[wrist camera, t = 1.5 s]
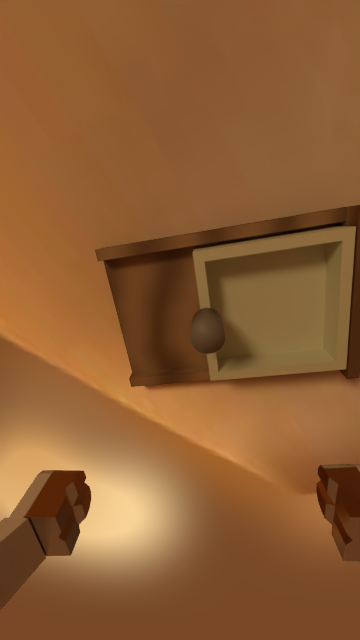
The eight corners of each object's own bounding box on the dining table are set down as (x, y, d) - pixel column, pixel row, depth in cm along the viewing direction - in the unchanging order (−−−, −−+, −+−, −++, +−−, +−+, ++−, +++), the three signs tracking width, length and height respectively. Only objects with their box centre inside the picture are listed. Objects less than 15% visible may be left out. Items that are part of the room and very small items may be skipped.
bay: (346, 206, 25) (375, 202, 21) (338, 357, 31) (359, 377, 27) (103, 247, 29) (86, 251, 25) (136, 375, 35) (126, 396, 30)
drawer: (333, 226, 25) (388, 226, 18) (328, 351, 30) (369, 393, 22) (184, 250, 27) (177, 259, 20) (201, 363, 32) (201, 405, 24)
